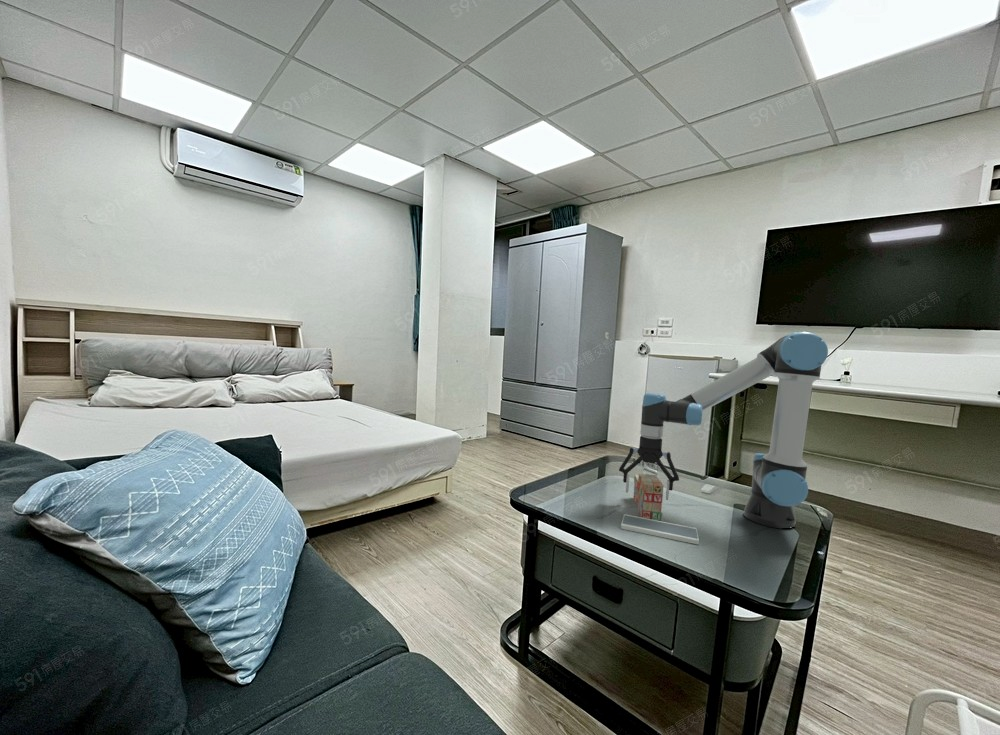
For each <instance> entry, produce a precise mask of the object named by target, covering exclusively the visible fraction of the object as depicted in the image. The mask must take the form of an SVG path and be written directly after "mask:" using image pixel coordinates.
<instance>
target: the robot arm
mask: <svg viewBox="0 0 1000 735" xmlns="http://www.w3.org/2000/svg"><path fill="white" fill-rule="evenodd" d="M828 355H829V348H828V345H827V343H826V342H825V340H824V339H823V338H822V337H820V336H819V335H818V334H815V333H813V332H808V331H796V332H792V333H790V334H788V335H783V336H782V337H781V338H779V339H778V340H776V341H775V342H774V343H772V344H771V345H769V346H768V347H766V349H763V350H762V351H760V352H758V353H757V354H756V357H755V358H754V359H751V360H750V361H748V362H747V363H744V364H743V365H741V366H739V367H738V368H737V367H736V368H735V369H733V370H732V371H730V372H728V373H726V374H725V375H723V376H721V377H719V378H717V379H715V380H714V381H713V380H712V382H710V383H708V384H706V385H704V386H702V387H701V388H699V389H697V390H695V391H694V392H692V393H691V394H688V395H686V396H685V397H683V398H680V399H678V400H676V401H671V400H667V398H666V395H664V394H660V393H652V392H651V393H649V392H648V393H646V394H644V395H643V398H642V405H641V420H640V421H641V422H640V432H639V434H640V435H641V436H639V445H638V448H635V447H634V446H631V447H630V448H629V452H628V454H627V456H626V458H624V460H623V461H622V463H621V464H620V466H619V468H618V471H619V472H621V473H622V474H623V478H622V479H623V480H622V481H623V483H625V493H627V494H629V493H628V492H629V487H630V471H631V470H633V469H634V468H635V467H637V466H638V465H639V464H640V463H641V462H644V463H650V464H655V463H656V465H657V466H658V467H659V468H660V469H661V471H662V472H663V473H664V475H665V476H666V478H668V479H666V480H667V482H666V492H665V500H666V501H669V495H670V494H669V492H670V491H673V490H674V489H673V488H674V482H676V481H677V482H679V481H680V476H679V473H678V472H677V470H676V467H675V465H674V463H673V460H672V458H671V452H670V451H668V452H663V450H662V448H663V447H662V446H663V439H662V438H663V434H664V433H663V432H664V423H672V424H681V425H688V426H700V425H701V424H702V420H703V412H704V411H706V410H707V409H708V410H709V409H710V408H712V407H714V406H716V405H717V404H720V403H721V402H724V401H725V400H727V399H729V398H731V397H732V396H735V395H736V394H737V395H738V393H740V392H742V391H744V390H746V389H748V388H750V387H752V386H754V385H756V384H758V383H759V382H762V381H763V380H765V379H767V378H770V377H777V378H778V385H777V392H776V393H777V394H776V401H775V406H774V414H773V422H772V429H771V435H770V443H769V451H768V453H759V452H757V453H755V454H754V456H753V460H752V463H753V464H752V479H751V480H752V481H751V491H750V492H751V493H750V495H749V496H750V497H749V498H748V500H747V502H746V504H745V506H744V510H743V516H744V517H745V518H746V519H747V520H749V521H752V522H753V523H756V524H759V525H762V526H766V527H770V528H774V529H781V530H782V528H790V527H793V526H794V525H795V524H797V518H796V515H795V512H794V509H793V507H794V506H797V505H800V504H802V503H803V502H804V501H805V500H806V499H807V497H808V494H809V485H808V482H807V480H806V477H807V470H808V464H807V463H806V461H804V460H803V453H804V452H803V451H804V448H805V447H804V446H805V439H806V432H807V426H808V425H807V424H808V419H809V418H808V417H809V410H810V405H811V404H810V403H811V397H812V389H813V384H814V382H816V381H817V380H818V379H820V378H821V371H822V365H823V364H824V363H825V362H826V360H827V358H828ZM636 453H637V454H638V457H637V458H636V459H635V460H634V461H633V462H632V463H631V464H630V465H628V467H626V465H627V464H628V463H629V461H630V460H631V458H632V456H633V455H635V454H636ZM662 457H663V458H664V459H665V460H667V463H668V466H669V468H670V470H671V472H672V474H671V473H670V471H669V470H668V469H667V468H666V466H665V464H663V462H662V461H661V458H662ZM625 467H626V468H625ZM672 475H673V476H672Z"/></svg>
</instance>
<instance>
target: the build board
mask: <svg viewBox="0 0 1000 735" xmlns="http://www.w3.org/2000/svg"><path fill="white" fill-rule="evenodd" d="M620 529H621V530H626V531H631V532H636V533H640V534H646V535H650V536H655V537H659V538H660V537H661V538H665V539H670V540H674V541H679V542H683V543H687V544H694V545H699V542H700V539H699V535H698V534H699V533H698V529H697V527H693V526H687V525H682V524H677V523H672V522H668V521H662V520H661V521H657V520H652V519H647V518H642V517H641V516H635V515H630V514H625V513H624V514H623V517H622V521H621V523H620Z"/></svg>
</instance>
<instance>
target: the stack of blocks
mask: <svg viewBox="0 0 1000 735" xmlns="http://www.w3.org/2000/svg"><path fill="white" fill-rule="evenodd" d="M633 480H634V481H633V484H634V485H633V499H634V503H635V506H636V508H637V510H638V513H639V515H640V516H639V517H642V518H647V519H652V520H657V521H662V508H663V507H662V504H663V496H664V494H663V493H664V485H663V483H662V481H661V480H660V479H659V477H658V476H657V475H656V474H647V473H646V474H645V473H638V474H634V478H633Z"/></svg>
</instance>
